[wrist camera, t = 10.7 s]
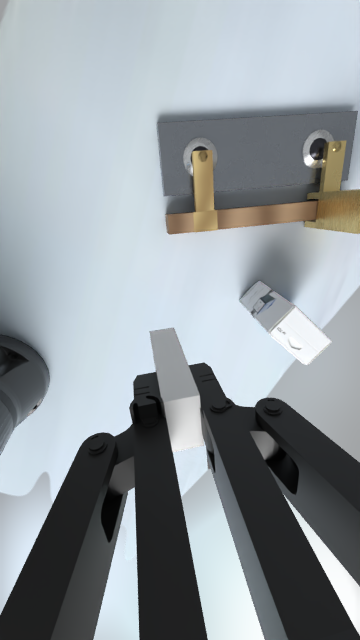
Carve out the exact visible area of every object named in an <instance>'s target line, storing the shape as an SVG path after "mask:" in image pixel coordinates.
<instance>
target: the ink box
mask: <svg viewBox="0 0 360 640" xmlns="http://www.w3.org/2000/svg"><path fill="white" fill-rule="evenodd" d="M239 302H240V303H241V304H242V305H243V306H244V308H245V309H246V310H247V311H248V312H249V313H250V314H251V315H252V316H253V317H254V318H255V319H256V320H257V322H258V323H259V324H260V325H261V326H262V327H263V328H264V329H265V330H266V331H267V332H268V333H269V334H270V335H271V337H272V338H274V339H275V340H276V341H277V342H278V343H279V344H281V345H282V346H283V347H285V348H286V349H287V350H288V351H289V352H290V353H292V354H293V355H294V356H295V357H296V358H297V359H298V360H299V361H301V362H302V363H303V364H306V365H308V364H310V363H311V362H312V361H313V360H314V359H315V358H316V357H317V356H318V355H319V354H320V353H321V352H322V351H323V350H324V349H325V348H327V346H329V345H330V344H331V342H332V340H331V339H330V338H328V336H327V335H326V334H324V332H323V331H321V330H320V329H319V328H318V327H317V326H316V325H315V324H314V323H313V322H312V321H311V320H310V319H309V318H308V317H307V316H306V315H305V314H304V313H303V312H302V311H301V310H300V309H299V308H298V307H297V306H295V305H294V304H292V303H291V302H289V301H288V300H287V299H285V298H284V297H282V296H281V295H279V294H278V293H276V292H275V291H274V290H272V289H271V288H269V287H268V286H267V285H265V284H264V283H262V282H261V281H258V282H257V283H255V284H254V285H253V286H252V287H251V288H250V289H249V290H248V291H247V292H246V293H245V294H244V295H243V296H242V298H241V299H240V300H239Z"/></svg>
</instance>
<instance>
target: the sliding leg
mask: <svg viewBox="0 0 360 640" xmlns="http://www.w3.org/2000/svg"><path fill="white" fill-rule="evenodd" d="M346 141H347V140H346ZM346 141H332V142H327V143H325V145H324V154H323V163H322V172H321V181H320V190H319V192H314V193H308V194H307V199H318V206H317V215H316V220H311V221H305V225H304V227H310V228H317V229H325V230H332V231H340V232H347V233H355V234H359V233H360V189H351V190H340V184H341V177H342V170H343V163H344V156H345V148H346Z"/></svg>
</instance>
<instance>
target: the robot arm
mask: <svg viewBox="0 0 360 640" xmlns="http://www.w3.org/2000/svg"><path fill="white" fill-rule="evenodd" d="M150 338H151V344H152V350H153V357H154V363H155V369H156V372H154V373H148V374H143V375H137V377H136V379H135V380H134V382H133V385H134V400H133V401H132V403H131V404H130V408H129V409H130V413H131V418H132V422H133V424H132V425H131V426H130V427H129V428H128V429H127V430H126V431H124V432H123V433H121V434H119V435H117V436H115V437H114V436H112V435H111V434H109V433H104V432H103V433H97V434H94V435H92V436H90V437H89V438H87V439H86V440H85V441H84V442H83V443H82V445H81V446H80V448H79V450H78V452H77V454H76V456H75V459H74V461H73V463H72V465H71V467H70V469H69V471H68V473H67V475H66V478H65V480H64V482H63V484H62V486H61V488H60V490H59V492H58V494H57V497H56V499H55V501H54V503H53V505H52V508H51V509H50V512H49V513H48V516H47V518H46V520H45V522H44V524H43V526H42V528H41V530H40V532H39V535H38V537H37V539H36V541H35V543H34V545H33V548H32V549H31V552H30V554H29V556H28V558H27V560H26V562H25V564H24V566H23V568H22V571H21V573H20V575H19V577H18V579H17V581H16V583H15V586H14V587H13V590H12V592H11V594H10V596H9V598H8V600H7V602H6V604H5V607H4V609H3V611H2V613H1V615H0V640H93V638H94V634H95V629H96V626H97V621H98V617H99V613H100V609H101V604H102V600H103V596H104V592H105V587H106V583H107V579H108V575H109V570H110V566H111V562H112V558H113V554H114V549H115V545H116V541H117V537H118V533H119V529H120V524H121V520H122V516H123V512H124V507H125V503H126V499H127V495H128V491H129V490H131V489H132V488H134V487H135V507H136V540H137V572H138V605H139V637H140V640H208V639H207V633H206V628H205V623H204V617H203V612H202V607H201V602H200V596H199V591H198V585H197V580H196V575H195V570H194V564H193V559H192V553H191V548H190V543H189V537H188V532H187V527H186V521H185V516H184V511H183V505H182V500H181V495H180V489H179V484H178V479H177V473H176V468H175V463H174V457H173V452H177V451H182V450H186V449H191V448H195V447H200V446H204V442H205V445H206V450H207V462H208V469H211V470H212V474H213V477H214V480H215V483H216V486H217V489H218V492H219V496H220V499H221V502H222V505H223V508H224V512H225V515H226V518H227V521H228V524H229V528H230V531H231V534H232V537H233V540H234V543H235V547H236V550H237V553H238V556H239V559H240V562H241V566H242V569H243V572H244V575H245V578H246V581H247V585H248V588H249V591H250V594H251V597H252V601H253V604H254V607H255V610H256V613H257V616H258V620H259V623H260V626H261V629H262V632H263V635H264V639H265V640H360V636H359V634H358V632H357V631H356V629H355V627H354V625H353V624H352V622H351V620H350V618H349V616H348V614H347V612H346V610H345V609H344V607H343V605H342V603H341V601H340V599H339V597H338V595H337V594H336V592H335V590H334V588H333V586H332V585H331V582H330V581H329V579H328V577H327V575H326V573H325V571H324V570H323V568H322V566H321V564H320V562H319V560H318V558H317V557H316V555H315V553H314V551H313V549H312V547H311V545H310V544H309V542H308V540H307V538H306V536H305V534H304V532H303V530H302V529H301V527H300V525H299V523H298V521H297V519H296V517H295V515H294V514H293V512H292V510H291V508H290V506H289V504H288V502H287V501H286V499H285V497H284V495H285V496H286V498H287V499H288V500H289V501H290V502H291V504H292V505H293V506H294V507H295V508H296V510H297V511H298V512H299V513H300V514H301V516H302V517H303V518H304V519H305V521H306V522H307V523H308V524H309V525H310V527H311V528H312V529H313V530H314V531H315V533H316V534H317V535H318V536H319V537H320V539H321V540H322V541H323V542H324V544H325V545H326V546H327V547H328V548H329V550H330V551H331V552H332V553H333V554H334V556H335V557H336V558H337V559H338V560H339V562H340V563H341V564H342V565H343V566H344V568H345V569H346V570H347V571H348V573H349V574H350V575H351V576H352V577H353V579H354V580H355V581H356V582H357V583H358V585H359V586H360V463H359V462H358V461H357V460H356V459H354V458H353V457H352V456H351V455H349V454H348V453H347V452H346V451H344V450H343V449H342V448H341V447H340V446H338V445H337V444H336V443H335V442H333V441H332V440H330V438H328V437H327V436H326V435H325V434H323V433H322V432H321V431H320V430H319V429H317V428H316V427H315V426H313V425H312V424H311V423H310V422H309V421H307V420H306V419H305V418H304V417H302V416H301V415H300V414H299V413H297V412H296V411H295V410H294V409H293V408H291V407H290V406H289V405H287V404H286V403H285V402H283V401H282V400H279V399H276V398H264V399H261V400H259V401H258V402H257V404H256V406H255V407H242V406H238V405H235V404H234V403H233V401H232V400H230V399H228V398H227V397H226V396H225V394H224V392H223V390H222V388H221V386H220V384H219V382H218V381H217V379H216V377H215V375H214V373H213V371H212V369H211V367H210V366H208V365H207V364H205V363H199V364H194V365H188V363H187V360H186V358H185V355H184V353H183V350H182V347H181V345H180V342H179V340H178V337H177V334H176V332H175V329H174V328H168V329H162V330H156V331H150ZM48 387H49V373H48V369H47V367H46V364H45V363H44V361H43V360H42V358H41V357H40V356H39V355H38V353H37V352H35V351H34V350H33V349H32V348H31V347H29V346H28V345H26V344H25V343H23V342H21V341H19V340H16V339H14V338H11V337H7V336H3V335H0V455H1V453H2V451H3V449H4V447H5V445H6V443H7V442H8V440H9V438H10V436H11V434H12V432H13V430H14V428H15V427H17V426H18V425H19V424H20V423H21V422H22V421H23V420H25V419H26V417H28V416H29V415H30V414H32V413H33V412H34V411H35V410H36V409H37V408H38V407H39V405H40V404H41V403H42V401H43V399H44V397H45V395H46V393H47V390H48ZM283 494H284V495H283Z"/></svg>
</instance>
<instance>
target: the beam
mask: <svg viewBox="0 0 360 640" xmlns="http://www.w3.org/2000/svg"><path fill="white" fill-rule="evenodd" d="M192 168H193V186H194V204H195V212H186V213H176V214H165V215H166V226H167V233H168V234H179V233H189V232H203V231H213V230H218V229H228V228H238V227H248V226H258V225H268V224H278V223H288V222H298V221H308V220H316V215H317V206H318V200H315V201H304V202H294V203H283V204H272V205H261V206H251V207H240V208H229V209H218V210H214V188H213V153H212V150H204V151H193V152H192Z"/></svg>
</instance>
